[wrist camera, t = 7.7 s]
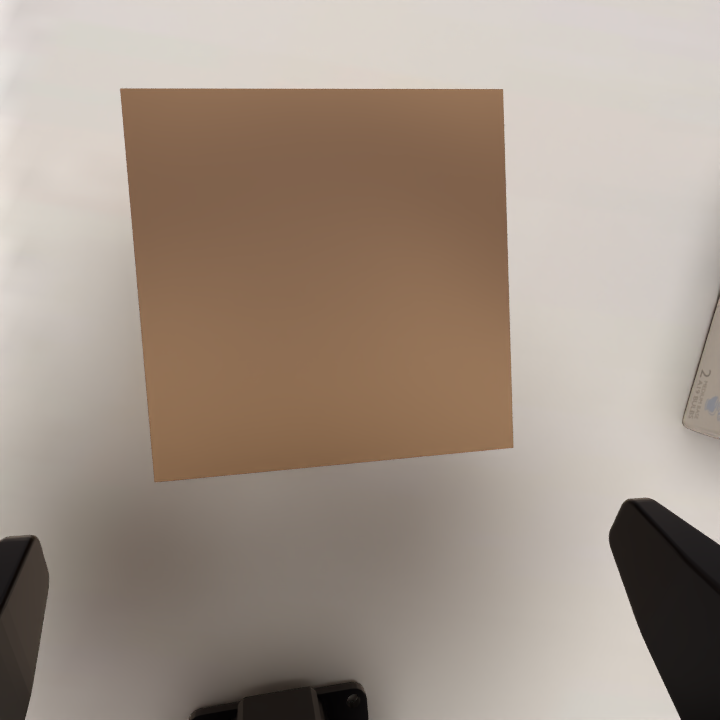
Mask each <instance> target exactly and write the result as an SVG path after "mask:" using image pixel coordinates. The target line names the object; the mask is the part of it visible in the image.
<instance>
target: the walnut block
mask: <svg viewBox="0 0 720 720" xmlns="http://www.w3.org/2000/svg"><path fill="white" fill-rule="evenodd" d="M120 92H121V104H122V115H123V126H124V138H125V149H126V161H127V172H128V184H129V195H130V207H131V218H132V230H133V241H134V252H135V264H136V275H137V287H138V298H139V310H140V321H141V333H142V344H143V356H144V367H145V379H146V390H147V401H148V413H149V424H150V436H151V447H152V459H153V470H154V482H163V481H174V480H184V479H194V478H205V477H215V476H225V475H236V474H246V473H256V472H267V471H277V470H287V469H298V468H308V467H318V466H329V465H339V464H349V463H360V462H370V461H380V460H391V459H401V458H412V457H422V456H432V455H443V454H453V453H463V452H474V451H484V450H494V449H505V448H513V421H512V387H511V352H510V317H509V282H508V247H507V213H506V178H505V143H504V108H503V89H120Z"/></svg>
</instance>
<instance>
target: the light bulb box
mask: <svg viewBox="0 0 720 720" xmlns="http://www.w3.org/2000/svg"><path fill="white" fill-rule="evenodd" d="M683 425H684V426H685V427H686V428H689V429H691V430H693V431H696V432H699V433H702V434H705V435H708V436H711V437H714V438H717V439H720V298H719V301H718V304H717V308H716V311H715V314H714V317H713V321H712V324H711V327H710V331H709V334H708V337H707V341H706V344H705V347H704V351H703V354H702V358H701V361H700V365H699V368H698V371H697V375H696V378H695V381H694V384H693V388H692V391H691V394H690V398H689V401H688V405H687V408H686V411H685V414H684V418H683Z"/></svg>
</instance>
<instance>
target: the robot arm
mask: <svg viewBox="0 0 720 720" xmlns="http://www.w3.org/2000/svg"><path fill="white" fill-rule="evenodd" d="M609 543H610V548H611V551H612V553H613V556H614V559H615V562H616V565H617V568H618V570H619V573H620V576H621V579H622V582H623V585H624V587H625V590H626V593H627V596H628V599H629V602H630V604H631V607H632V610H633V613H634V616H635V619H636V621H637V624H638V626H639V629H640V632H641V634H642V636H643V639H644V641H645V643H646V645H647V648H648V650H649V652H650V654H651V656H652V658H653V661H654V663H655V665H656V667H657V669H658V671H659V673H660V676H661V678H662V680H663V682H664V684H665V686H666V688H667V691H668V693H669V695H670V697H671V699H672V701H673V703H674V706H675V708H676V710H677V712H678V714H679V716H680V718H681V720H720V545H719V544H718V543H716V542H715V541H713V540H712V539H710V538H709V537H707V536H706V535H704V534H703V533H702V532H700V531H699V530H697V529H696V528H694V527H693V526H691V525H690V524H688V523H687V522H686V521H684V520H683V519H681V518H680V517H678V516H677V515H675V514H674V513H672V512H671V511H670V510H668V509H667V508H665V507H664V506H662V505H661V504H659V503H658V502H656V501H655V500H653V499H650V498H634V499H627V500H626V501H624V502H623V504H622V506H621V508H620V510H619V512H618V514H617V516H616V519H615V521H614V523H613V525H612V527H611V529H610V533H609ZM48 589H49V573H48V569H47V565H46V562H45V558H44V555H43V551H42V548H41V544H40V541H39V539H38V538H37V537H36V536H34V535H24V536H9V537H6V538H4V539H2V540H1V541H0V720H25V717H26V713H27V709H28V705H29V701H30V697H31V692H32V687H33V681H34V675H35V669H36V663H37V657H38V651H39V644H40V638H41V632H42V626H43V620H44V614H45V608H46V601H47V595H48ZM351 695H357V696H358V698H357V699H356V700H355V701H353V702H349V701H348V700H347V699H348V698H349V696H351ZM189 720H368V708H367V698H366V695H365V691H364V688H363V687H362V686H361V685H360V684H358V683H356V682H350V683H344V684H339V685H333V686H327V687H321V688H316V689H312V688H311V687H303V688H298V689H292V690H286V691H280V692H275V693H269V694H263V695H257V696H251V697H246V698H244V699H243V700H242V701H241V702H235V703H229V704H224V705H218V706H212V707H206V708H201V709H198V710H196V711H194V712H193V713H192V714H191V716H190V718H189Z"/></svg>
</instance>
